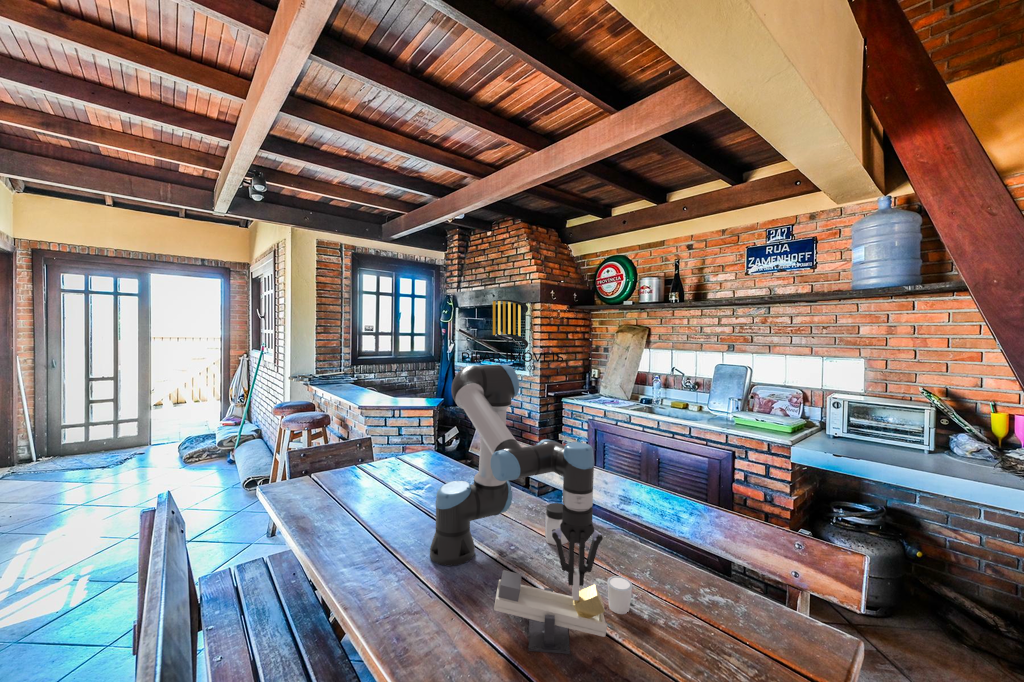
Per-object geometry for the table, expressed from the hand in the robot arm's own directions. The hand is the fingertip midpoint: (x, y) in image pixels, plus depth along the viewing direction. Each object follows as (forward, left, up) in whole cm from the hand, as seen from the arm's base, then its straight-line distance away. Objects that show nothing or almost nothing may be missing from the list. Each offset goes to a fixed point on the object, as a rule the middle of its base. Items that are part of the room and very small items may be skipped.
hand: (575, 596), depth 105 cm
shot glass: (+13, +11, -10) cm, 20 cm away
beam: (-7, 0, -4) cm, 8 cm away
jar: (-3, +46, -10) cm, 47 cm away
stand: (-7, 0, -10) cm, 12 cm away
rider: (0, 0, -3) cm, 3 cm away
